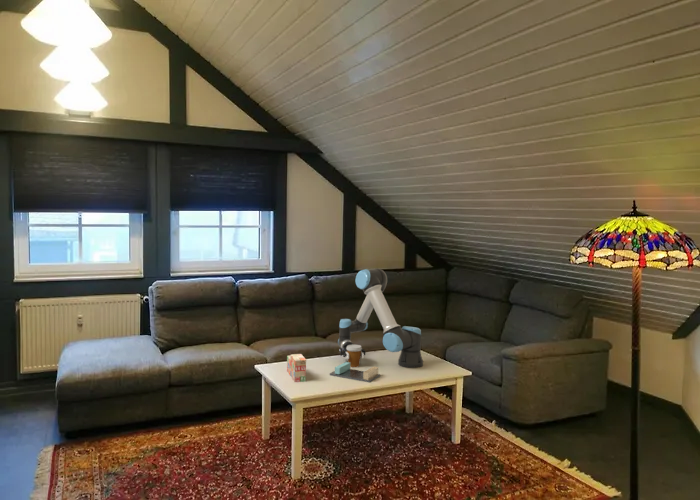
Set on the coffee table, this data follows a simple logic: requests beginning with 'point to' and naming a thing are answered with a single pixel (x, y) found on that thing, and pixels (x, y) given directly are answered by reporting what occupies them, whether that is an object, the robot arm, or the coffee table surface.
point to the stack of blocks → (297, 367)
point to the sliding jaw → (342, 368)
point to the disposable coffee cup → (354, 355)
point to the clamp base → (359, 374)
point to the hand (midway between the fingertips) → (355, 356)
